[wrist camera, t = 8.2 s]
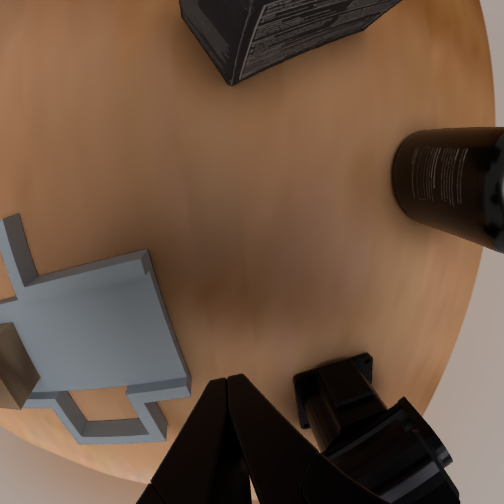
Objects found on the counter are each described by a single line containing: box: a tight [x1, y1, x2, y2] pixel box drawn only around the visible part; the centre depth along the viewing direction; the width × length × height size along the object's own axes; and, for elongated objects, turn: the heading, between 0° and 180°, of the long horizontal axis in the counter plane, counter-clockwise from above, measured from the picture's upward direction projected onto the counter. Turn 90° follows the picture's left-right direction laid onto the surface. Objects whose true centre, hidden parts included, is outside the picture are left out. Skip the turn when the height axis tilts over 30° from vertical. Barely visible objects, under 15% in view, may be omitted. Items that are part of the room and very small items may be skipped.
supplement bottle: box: [394, 127, 504, 254], centre depth 13 cm, size 7×7×12 cm
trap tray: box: [0, 214, 191, 444], centre depth 18 cm, size 20×19×2 cm
